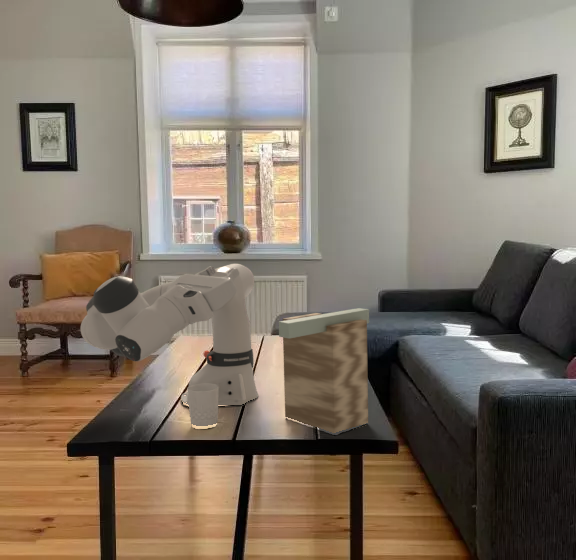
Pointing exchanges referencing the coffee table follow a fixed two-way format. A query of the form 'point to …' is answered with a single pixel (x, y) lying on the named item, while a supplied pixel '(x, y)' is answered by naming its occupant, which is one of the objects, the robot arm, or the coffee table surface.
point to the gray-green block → (319, 322)
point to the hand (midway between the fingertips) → (224, 269)
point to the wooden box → (327, 376)
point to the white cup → (203, 403)
